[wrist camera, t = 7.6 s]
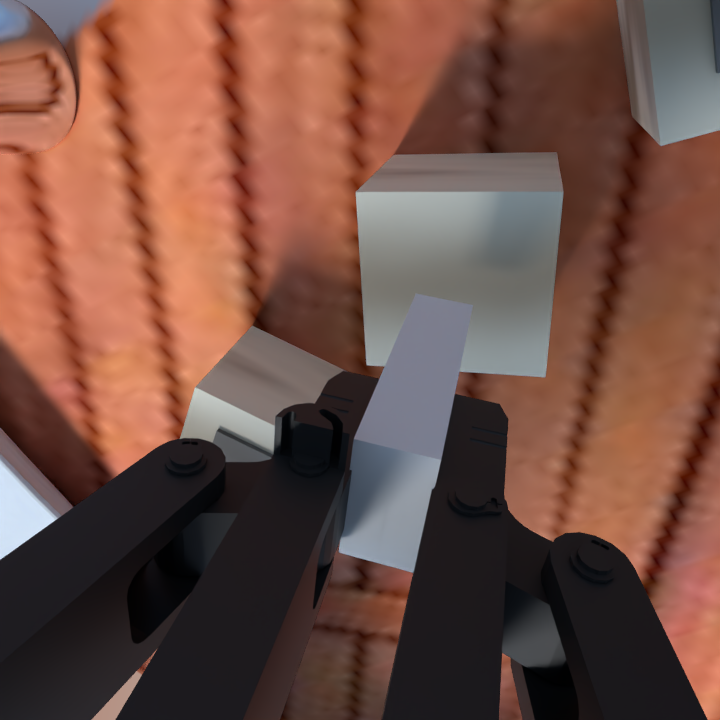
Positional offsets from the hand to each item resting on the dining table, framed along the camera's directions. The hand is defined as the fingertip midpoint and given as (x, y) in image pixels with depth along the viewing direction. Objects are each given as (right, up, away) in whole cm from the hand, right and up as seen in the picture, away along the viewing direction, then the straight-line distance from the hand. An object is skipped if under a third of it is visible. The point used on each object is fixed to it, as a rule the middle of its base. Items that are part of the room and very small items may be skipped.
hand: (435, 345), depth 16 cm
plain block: (+2, +5, +8) cm, 10 cm away
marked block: (-5, -2, +14) cm, 15 cm away
